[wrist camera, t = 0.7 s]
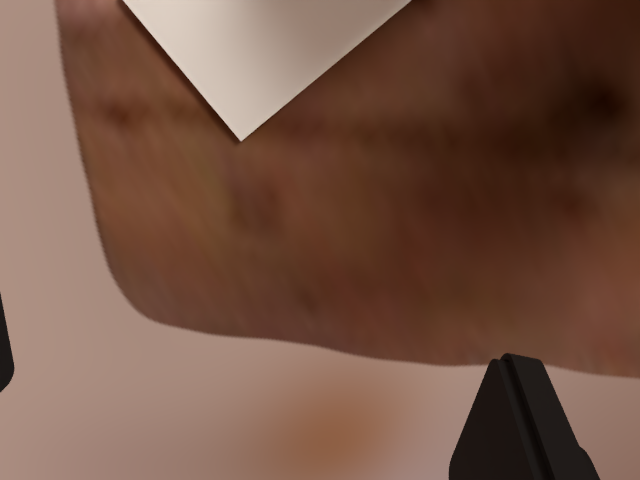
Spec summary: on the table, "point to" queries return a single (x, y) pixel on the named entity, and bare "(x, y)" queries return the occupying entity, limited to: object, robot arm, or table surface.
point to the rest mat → (258, 47)
